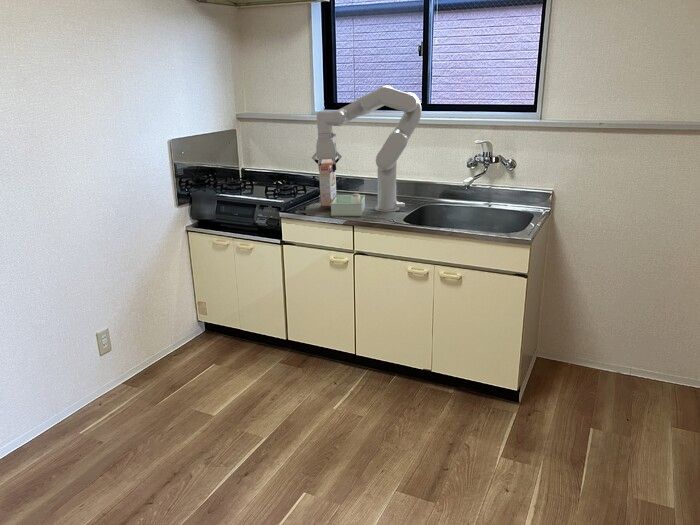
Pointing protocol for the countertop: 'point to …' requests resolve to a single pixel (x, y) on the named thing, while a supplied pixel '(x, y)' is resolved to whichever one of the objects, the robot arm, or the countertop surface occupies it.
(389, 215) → the countertop surface
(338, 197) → the tote
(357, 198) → the jar
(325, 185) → the cracker box
